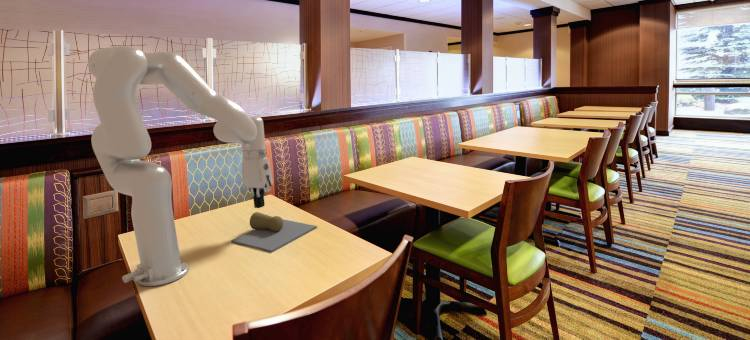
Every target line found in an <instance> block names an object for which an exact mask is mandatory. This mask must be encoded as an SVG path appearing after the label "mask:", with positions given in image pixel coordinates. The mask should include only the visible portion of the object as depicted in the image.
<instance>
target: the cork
mask: <svg viewBox="0 0 750 340" xmlns="http://www.w3.org/2000/svg"><path fill="white" fill-rule="evenodd" d="M283 219H284V218H282V217H281V216H279V215H274V216H271V215H268V214H264V213H261V212H259V211H258V212H257V211H255V212H253V213H252V214H251V216H250V218H249V226H250V228H251V229H252V230H255V229H271V230H272V231H280V230H281V229H282V227H283Z"/></svg>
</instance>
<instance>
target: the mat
mask: <svg viewBox="0 0 750 340" xmlns="http://www.w3.org/2000/svg"><path fill="white" fill-rule="evenodd" d="M282 219H283V227H282V229H281V230H280V231H272V230H271V229H252V230H250V231H248V232H246V233H244V234H242V235H239V236H237V237H235V238H233V239H231V240H230V242H231V243H234V244H238V245H240V246H241V245H242V246H244V247H245V246H246V247H249V248H254V249H257V250H261V251H265V252H269V253H274V252H275V251H277V250H279V249H281V248H283V247H285V246H286V245H288V244H291V243H292V242H293V241H295V240H297V239H299V238H301V237H303V236H305V235H306V234H308V233H310V232H312V231H314V230H316V229H317V228H318V225H314V224H308V223H303V222H299V221H293V220H289V219H284V218H282Z"/></svg>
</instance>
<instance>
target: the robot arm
mask: <svg viewBox="0 0 750 340" xmlns="http://www.w3.org/2000/svg"><path fill="white" fill-rule="evenodd" d="M87 66H88V70H89V71H90V73H91V75H92V76H93V77H94V78H95V80H94V81H95V82H94V83H93V90H92V97H93V98H92V99H93V103H94V108H95V110H96V112H97V113H96V114H97V116H98V118H99V121H100V124H98V125H96V127H95V128H94V129H93V131H92V135H91V147H92V150H93V153H94V155H95V156H96V159H97V161H98V163H99V165H100V168H101V170H102V172H103V174H104V176H105V178H106V180H107V182H108V184H109V185H110V187H111V188H112V189H113V190H115V191H116V192H117V193H119V194H122V195H124V196H125V195H126V196H130V197H131V198H132V199H131V201H132V202H131V210H130V211H131V213H130V214H131V220H132V226H133V231H134V236H135V241H136V247H137V252H138V253H137V254H138V257H139V263H138V264H137V265H136V269H134V271H132V272H131V273H130V272H128V273H127V274H125V275H123V276H121V279H122V282H123V283H124V284H126V283H129V282H131V281H133V282H134V283H137V284H138V285H141V286H144V287H154V286H155V287H156V286H161V285H165V284H170V283H171V282H172V283H173V282H175V281H177V280H179V279H181V278H182V277H184V276H185V275H186V274H187V273H188V271H189V264H188V263H186V262H185V261H182V260H181V254H180V248H179V241H178V235H177V229H176V224H175V223H176V222H175V218H174V211H173V203H172V189H173V188H172V187H173V185H172V184H173V183H172V177H171V175H170V174H171V173H170V172H169V171H168V170H167V169H166V168H165V167H164V166H162V165H161V164H158V163H156V162H152V161H148V160H147V161H145V160H141V159H143V158H145V157H147V156H148V155H149V154H150V152H151V149H152V141H151V137H150V134H149V132H148V129H147V127H146V124H145V121H144V118H143V116H142V114H141V111H140V109H139V106H138V102H137V89H138V86H139V85H141V86H142V85H163V86H164V87H165V88H166V89H168V91H170V92H171V93H172V94H173V95H174V96H175V97H176V98H177V99H179V101H180V102H181V103H182V104H184V105H185V107H186V108H188V109H189V110H191V111H193V112H194V113H196V114H199V115H202V116H205V117H208V118H211V119H213V120H215V121H216V123H215V124H214V126H213V134H214V136H215V138H216V139H217V140H218V141H220V142H223V143H232V144H241V151H242V152H241V153H242V154H241V155H242V160H241V174H242V175H241V176H242V182H243V186H245V190H248V191H250V193H251V196H252V197H253V207H254V208H256V209H260V208H263V207H265V195H266V193H269V192H271V187H272V186H273V185H274V178H273V173H272V166H271V163H270V160H269V158H268V157H267V156H268V153H267V150H266V139H265V138H266V137H265V128H264V127H265V126H264V121H263V118H262V117H260V116H249V115H248V113H247V112H246V111H245V110H244V109H243V108H242V107H241V106H239V105H238V104H237V103H235V102H234V101H233V100H231V99H229V98H227V97H226V96H224V95H223V94H221V93H220V92H217V90H215V89H213V88H212V87H211V86H210V85H209V84H208V83H207V82H206V81H205V80H204V79H203V78H202V76H200V75H199V74H198V72H196V71H195V69H194V68H193V67H192V66H190V64H189V63H188V62H187V61H186V60H185V59H184V57H182V56H181V55H180V54H178V53H177V52H174V51H169V50H168V51H167V50H166V51H155V52H143V51H142V50H141V49H139V48H138V47H135V46H132V45H116V46H110V47H104V48H100V49H96V50H95V51H93V52H92V53H91V54H90V55H89V57H88V60H87Z"/></svg>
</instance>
